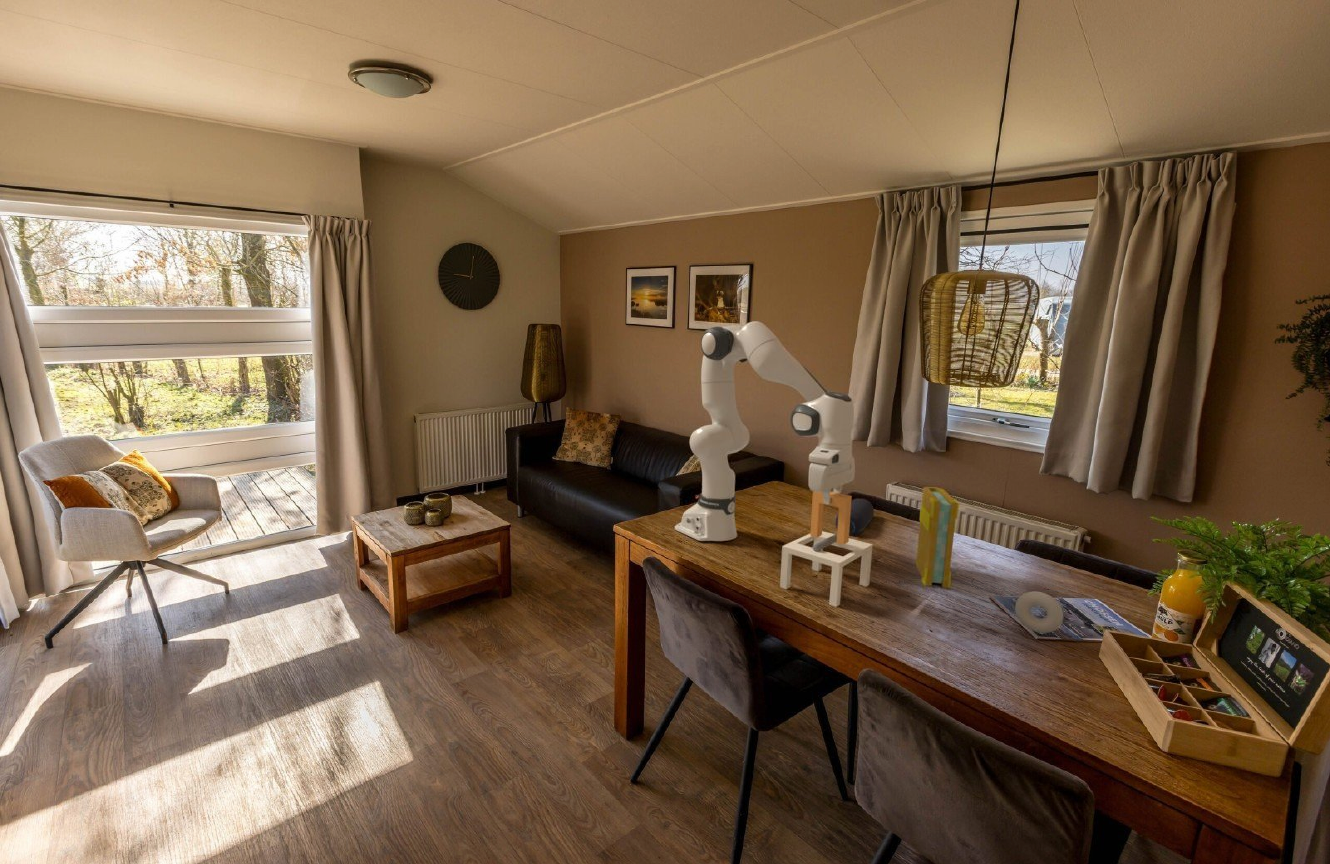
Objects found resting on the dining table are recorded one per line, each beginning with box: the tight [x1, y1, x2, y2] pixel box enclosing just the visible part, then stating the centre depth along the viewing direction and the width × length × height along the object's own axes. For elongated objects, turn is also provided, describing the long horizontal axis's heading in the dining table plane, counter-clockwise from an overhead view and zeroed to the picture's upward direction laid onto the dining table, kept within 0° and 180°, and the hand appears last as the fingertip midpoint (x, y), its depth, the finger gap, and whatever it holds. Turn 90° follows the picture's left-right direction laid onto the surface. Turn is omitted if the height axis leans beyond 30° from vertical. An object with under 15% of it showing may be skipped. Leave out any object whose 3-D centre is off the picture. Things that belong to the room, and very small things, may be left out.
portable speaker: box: [835, 498, 875, 537], centre depth 216 cm, size 25×10×10 cm, turn 151°
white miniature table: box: [779, 530, 874, 608], centre depth 166 cm, size 17×20×14 cm
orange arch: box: [809, 491, 853, 545], centre depth 164 cm, size 10×3×13 cm, turn 47°
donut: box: [1014, 590, 1064, 634], centre depth 143 cm, size 10×4×10 cm, turn 48°
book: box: [915, 486, 960, 589], centre depth 175 cm, size 17×7×25 cm, turn 168°
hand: (831, 502), depth 163 cm, fingers closed on orange arch, 3 cm apart
